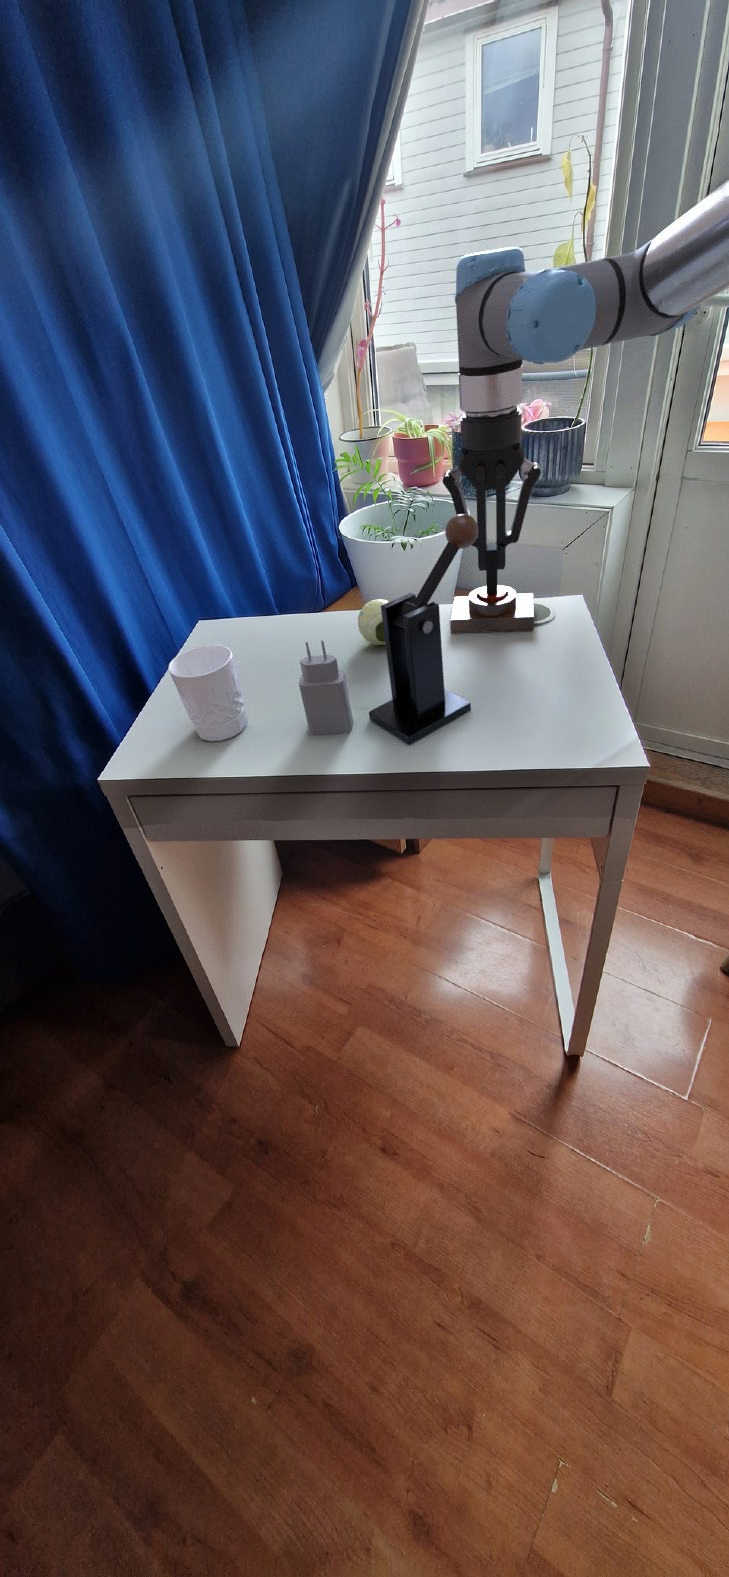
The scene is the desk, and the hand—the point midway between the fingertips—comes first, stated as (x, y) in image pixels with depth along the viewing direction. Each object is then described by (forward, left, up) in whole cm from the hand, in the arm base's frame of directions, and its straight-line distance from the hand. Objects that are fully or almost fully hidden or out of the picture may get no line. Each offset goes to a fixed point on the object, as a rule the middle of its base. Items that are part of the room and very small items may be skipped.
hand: (492, 590), depth 96 cm
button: (0, 0, -2) cm, 2 cm away
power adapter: (+19, +28, -5) cm, 34 cm away
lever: (+4, +22, +11) cm, 25 cm away
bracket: (+8, +26, -5) cm, 27 cm away
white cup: (+34, +28, -5) cm, 44 cm away
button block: (0, 0, -5) cm, 5 cm away
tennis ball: (+16, +6, -5) cm, 18 cm away
